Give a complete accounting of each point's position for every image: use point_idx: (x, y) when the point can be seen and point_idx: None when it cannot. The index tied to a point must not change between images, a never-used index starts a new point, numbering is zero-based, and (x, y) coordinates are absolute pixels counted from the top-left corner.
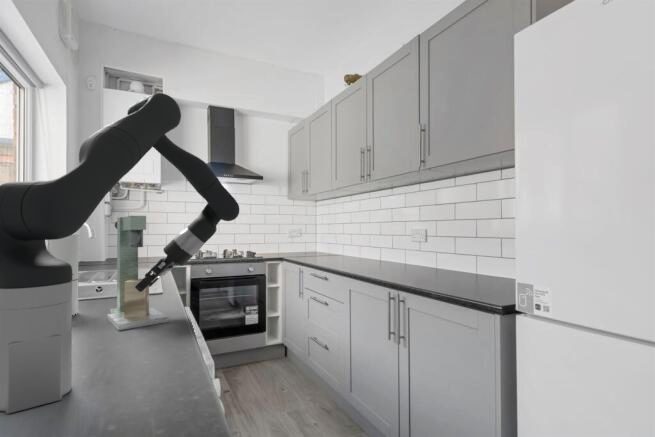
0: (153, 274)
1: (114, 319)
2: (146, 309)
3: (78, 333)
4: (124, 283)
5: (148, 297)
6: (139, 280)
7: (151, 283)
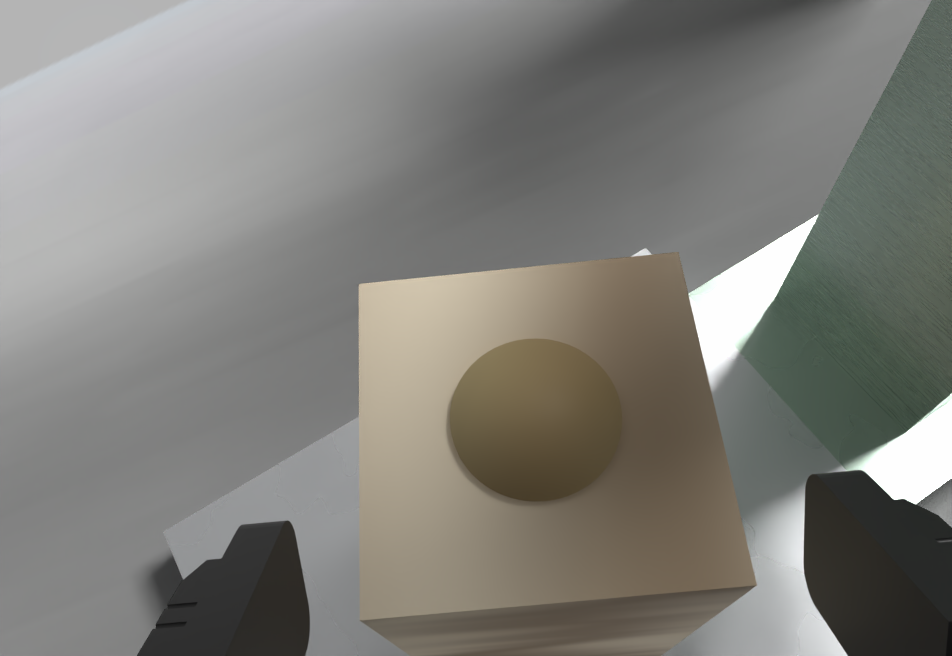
0: (937, 641)
1: None
2: None
3: (226, 270)
4: (931, 130)
5: (654, 640)
6: (479, 481)
7: (839, 620)
